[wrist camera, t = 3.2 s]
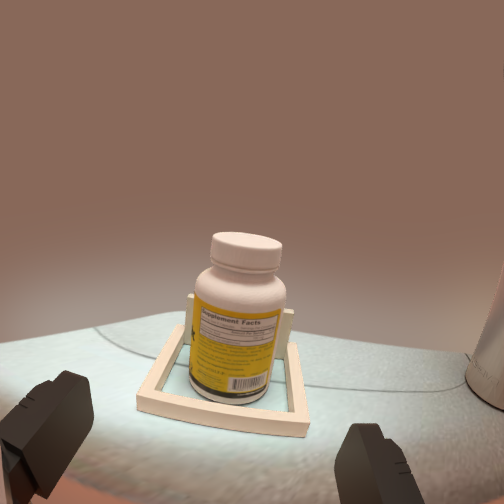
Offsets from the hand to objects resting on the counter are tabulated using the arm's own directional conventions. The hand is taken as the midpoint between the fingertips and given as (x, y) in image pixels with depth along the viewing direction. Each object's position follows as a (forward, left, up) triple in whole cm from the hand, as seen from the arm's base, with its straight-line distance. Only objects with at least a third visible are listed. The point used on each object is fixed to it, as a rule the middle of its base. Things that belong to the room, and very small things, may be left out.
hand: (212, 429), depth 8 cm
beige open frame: (0, -11, -6) cm, 13 cm away
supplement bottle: (0, -11, -6) cm, 13 cm away
